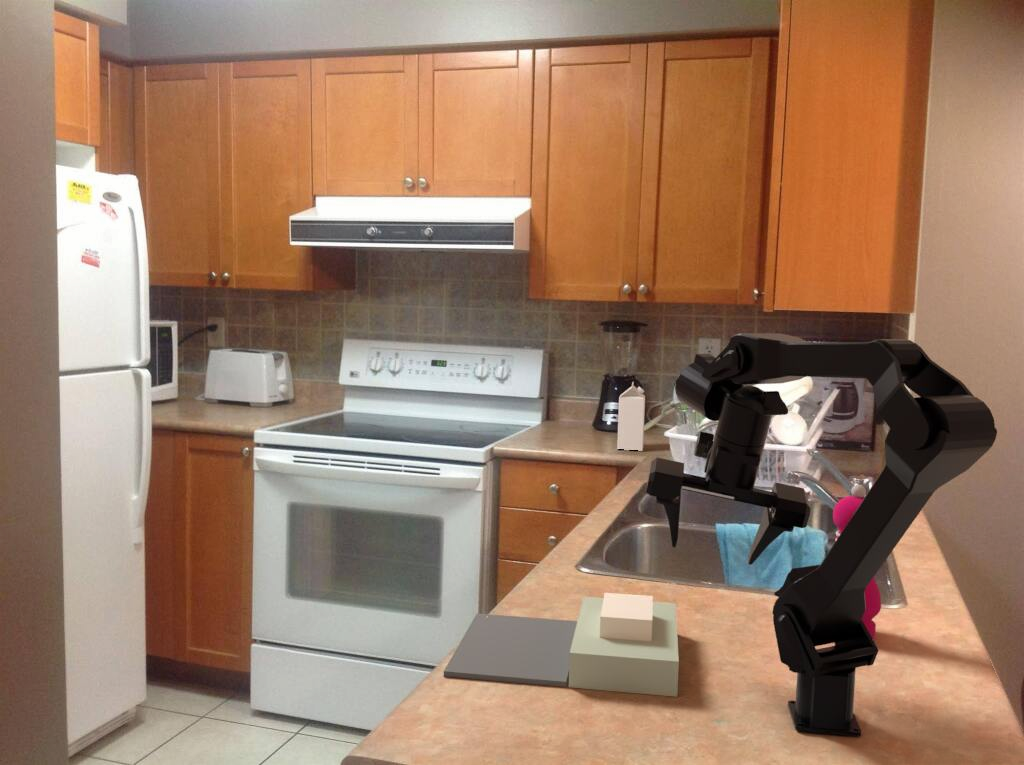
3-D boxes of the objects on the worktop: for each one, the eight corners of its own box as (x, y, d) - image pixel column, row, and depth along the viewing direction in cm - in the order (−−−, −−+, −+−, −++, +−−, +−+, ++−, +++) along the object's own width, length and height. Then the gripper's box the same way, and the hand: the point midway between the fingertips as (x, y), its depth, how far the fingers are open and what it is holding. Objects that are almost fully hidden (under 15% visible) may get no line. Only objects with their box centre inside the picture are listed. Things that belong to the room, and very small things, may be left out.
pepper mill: (837, 620, 131) (845, 477, 129) (888, 634, 126) (898, 485, 124) (811, 632, 126) (819, 483, 124) (863, 648, 121) (873, 493, 119)
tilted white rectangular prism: (651, 641, 110) (652, 620, 110) (599, 637, 111) (600, 616, 111) (652, 615, 119) (652, 596, 119) (604, 611, 120) (604, 592, 120)
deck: (677, 696, 105) (678, 661, 104) (568, 687, 107) (569, 652, 106) (674, 633, 124) (675, 603, 124) (582, 625, 126) (583, 596, 126)
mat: (565, 687, 107) (566, 681, 106) (443, 676, 109) (443, 671, 109) (580, 625, 126) (580, 621, 126) (476, 617, 128) (476, 613, 128)
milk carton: (617, 450, 268) (619, 383, 266) (618, 446, 275) (620, 381, 273) (642, 451, 267) (645, 384, 265) (643, 447, 273) (645, 382, 272)
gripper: (814, 429, 117) (784, 541, 122) (663, 398, 119) (639, 509, 124) (825, 464, 106) (791, 584, 111) (659, 429, 109) (633, 549, 114)
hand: (711, 554), depth 116 cm, fingers open, 9 cm apart
